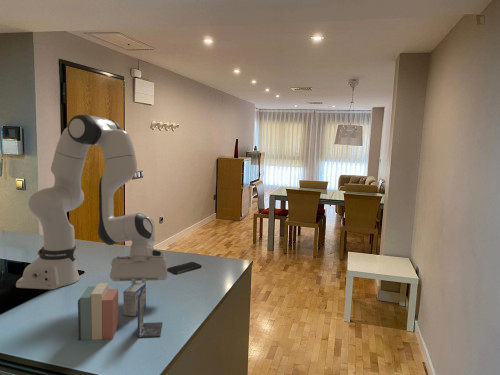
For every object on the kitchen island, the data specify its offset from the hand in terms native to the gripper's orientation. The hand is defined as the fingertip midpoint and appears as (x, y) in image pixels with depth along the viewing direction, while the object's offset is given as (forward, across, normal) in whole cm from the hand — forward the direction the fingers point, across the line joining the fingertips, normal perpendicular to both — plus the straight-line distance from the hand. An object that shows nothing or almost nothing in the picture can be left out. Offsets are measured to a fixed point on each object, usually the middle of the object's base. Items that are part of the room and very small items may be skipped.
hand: (137, 291), depth 127 cm
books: (+16, -8, -10) cm, 21 cm away
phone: (-22, +16, +30) cm, 40 cm away
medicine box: (+7, 0, 0) cm, 7 cm away
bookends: (+16, -2, -10) cm, 19 cm away
